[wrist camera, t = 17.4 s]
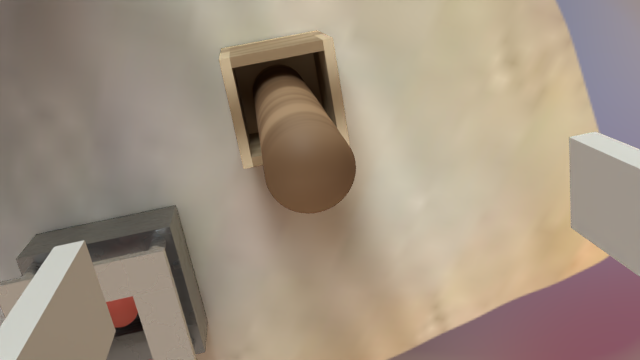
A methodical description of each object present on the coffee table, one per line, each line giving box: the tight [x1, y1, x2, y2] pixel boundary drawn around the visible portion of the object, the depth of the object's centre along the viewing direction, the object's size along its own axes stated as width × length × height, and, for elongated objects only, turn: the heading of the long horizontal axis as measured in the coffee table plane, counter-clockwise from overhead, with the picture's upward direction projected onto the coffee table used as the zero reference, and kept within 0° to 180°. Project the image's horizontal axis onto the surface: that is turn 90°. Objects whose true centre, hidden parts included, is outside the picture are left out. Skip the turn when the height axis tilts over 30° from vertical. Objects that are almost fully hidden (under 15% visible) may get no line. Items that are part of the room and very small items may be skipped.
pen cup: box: [219, 30, 350, 169], centre depth 37 cm, size 7×7×7 cm
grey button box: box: [0, 205, 208, 360], centre depth 39 cm, size 10×10×8 cm
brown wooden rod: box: [253, 65, 356, 213], centre depth 31 cm, size 4×4×18 cm
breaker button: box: [106, 296, 138, 328], centre depth 40 cm, size 3×3×2 cm
